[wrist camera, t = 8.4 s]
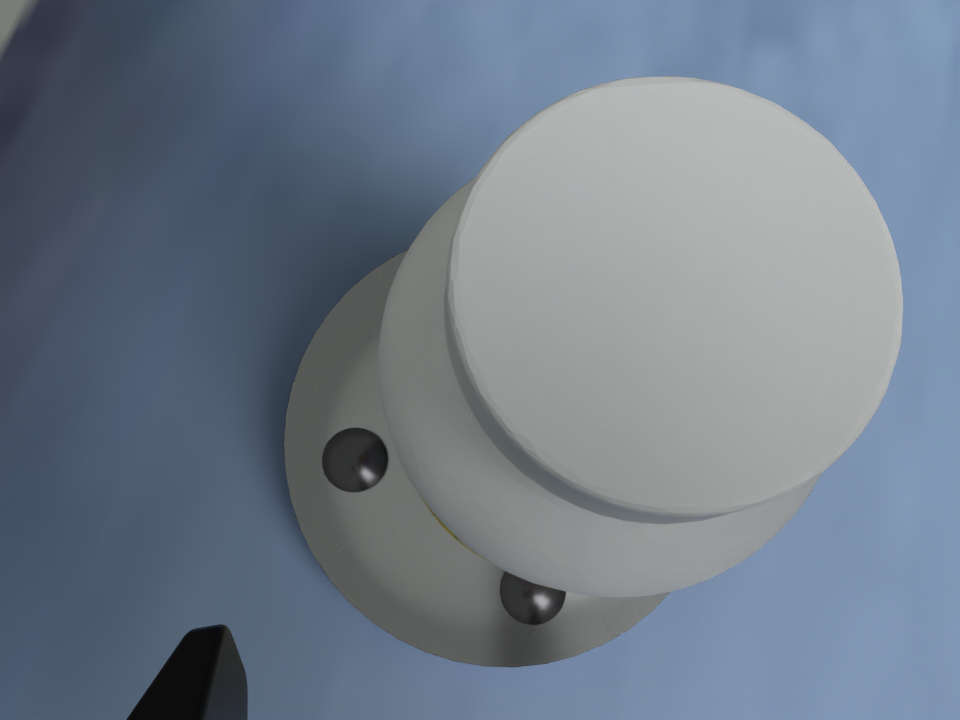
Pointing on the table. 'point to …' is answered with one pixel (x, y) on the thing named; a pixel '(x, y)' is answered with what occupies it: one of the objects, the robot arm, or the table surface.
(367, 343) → the rosette plate
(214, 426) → the table surface
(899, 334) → the supplement bottle
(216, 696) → the robot arm
